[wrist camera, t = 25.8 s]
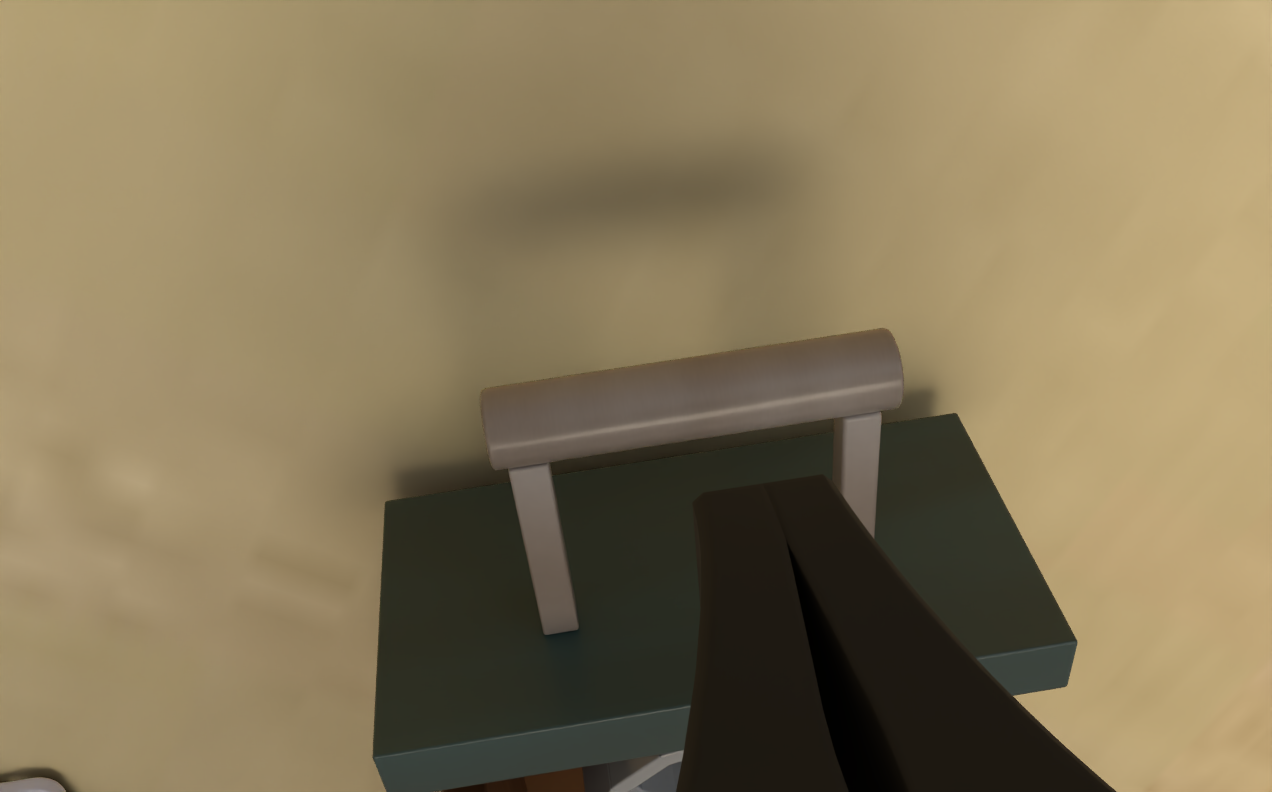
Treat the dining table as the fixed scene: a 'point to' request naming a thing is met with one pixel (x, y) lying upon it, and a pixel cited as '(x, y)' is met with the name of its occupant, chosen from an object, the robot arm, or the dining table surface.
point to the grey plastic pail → (635, 774)
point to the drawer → (663, 558)
